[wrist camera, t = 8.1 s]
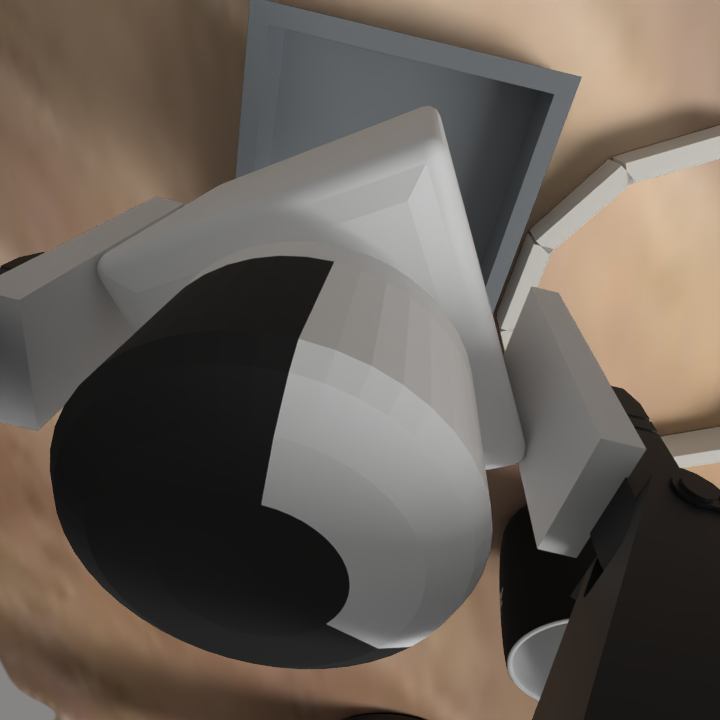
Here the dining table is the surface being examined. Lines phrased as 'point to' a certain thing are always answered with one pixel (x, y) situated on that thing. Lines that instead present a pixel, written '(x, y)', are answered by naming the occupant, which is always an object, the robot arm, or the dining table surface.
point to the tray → (401, 95)
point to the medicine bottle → (296, 410)
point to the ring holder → (579, 210)
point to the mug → (535, 601)
